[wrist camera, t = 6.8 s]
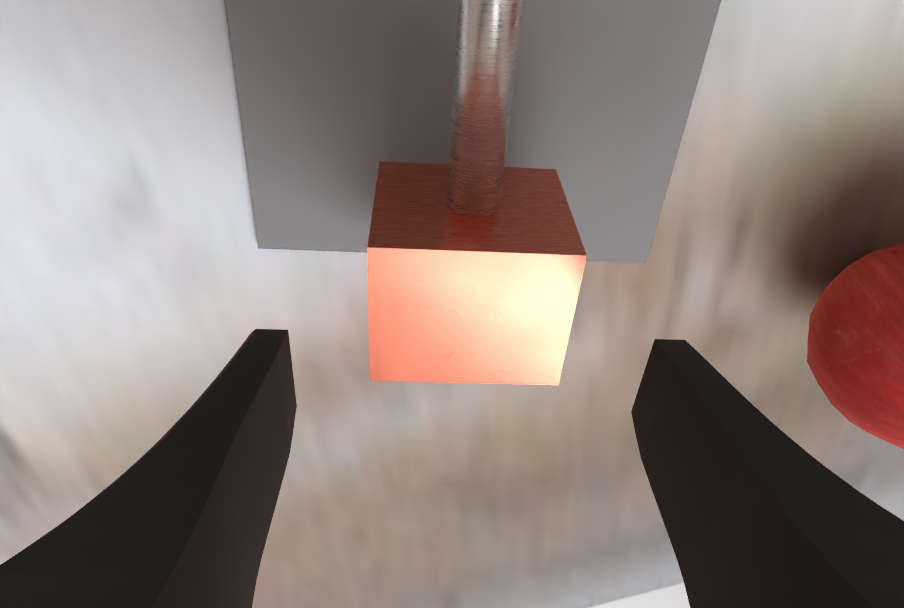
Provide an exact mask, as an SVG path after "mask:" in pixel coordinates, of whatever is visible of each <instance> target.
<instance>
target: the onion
mask: <svg viewBox="0 0 904 608" xmlns="http://www.w3.org/2000/svg"><path fill="white" fill-rule="evenodd" d="M807 362H808V364H809V366H810V368H811V370H812V372H813V374H814V376H815V378H816V380H817V382H818V384H819V386H820V387H821V389H822V390H823V392H824V393H825V395H826V396H827V398H828V399H829V401H830V402H831V404H832V405H833V406H834V407H835V408H836V409H837V410H838V411H839V412H840V413H841V414H843V415H844V416H845V417H846V418H847V419H848V420H849V421H850V422H851V423H853V424H855V425H856V426H858V427H860V428H861V429H863V430H865V431H866V432H868V433H870V434H872V435H874V436H876V437H878V438H880V439H882V440H885V441H887V442H889V443H891V444H893V445H896V446H898V447H900V448H903V449H904V242H902V243H899V244H896V245H892V246H889V247H886V248H882V249H879V250H876V251H873V252H871V253H869V254H867V255H865V256H864V257H862V258H860V259H859V260H857V261H855V262H854V263H852V264H850V265H848V266H847V267H846V268H845V269H844V270H843V271H842V272H841V273H840V274H839V275H838V276H837V277H836V278H834V279H833V280H832V281H831V282H830V283H829V285H828V286H827V287H826V288H825V289H824V291H823V293H822V294H821V296H820V298H819V300H818V302H817V304H816V305H815V307H814V309H813V311H812V313H811V315H810V322H809V333H808V354H807Z"/></svg>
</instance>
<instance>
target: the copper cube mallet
mask: <svg viewBox="0 0 904 608" xmlns="http://www.w3.org/2000/svg"><path fill="white" fill-rule="evenodd" d="M523 4H524V0H459V6H458V22H457V38H456V54H455V69H454V85H453V101H452V116H451V132H450V148H449V163H448V164H431V163H409V162H387V161H379V168H378V175H377V182H376V189H375V196H374V203H373V210H372V218H371V225H370V232H369V239H368V246H367V258H368V315H369V372H370V380H373V381H413V382H452V383H491V384H531V385H559V380H560V375H561V371H562V366H563V362H564V357H565V353H566V348H567V344H568V339H569V334H570V330H571V325H572V321H573V316H574V312H575V307H576V303H577V298H578V294H579V289H580V284H581V280H582V275H583V271H584V266H585V262H586V257H587V255H586V252H585V249H584V246H583V244H582V241H581V238H580V235H579V232H578V230H577V227H576V224H575V221H574V218H573V216H572V213H571V210H570V207H569V204H568V202H567V199H566V196H565V193H564V190H563V188H562V185H561V182H560V179H559V176H558V174H557V171H556V169H540V168H518V167H504V164H505V156H506V147H507V139H508V130H509V122H510V113H511V105H512V97H513V88H514V80H515V71H516V63H517V55H518V46H519V38H520V29H521V21H522V13H523Z"/></svg>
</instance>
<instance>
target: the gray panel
mask: <svg viewBox="0 0 904 608" xmlns="http://www.w3.org/2000/svg"><path fill="white" fill-rule="evenodd" d="M720 2H721V0H524V4H523V13H522V21H521V29H520V38H519V46H518V55H517V63H516V71H515V80H514V88H513V97H512V105H511V113H510V122H509V130H508V139H507V147H506V156H505V164H504V167H518V168H540V169H556V171H557V174H558V176H559V179H560V182H561V185H562V188H563V190H564V193H565V196H566V199H567V202H568V204H569V207H570V210H571V213H572V216H573V218H574V221H575V224H576V227H577V230H578V232H579V235H580V238H581V241H582V244H583V246H584V249H585V252H586V255H587V257H586V261H613V262H640V263H646V261H647V257H648V254H649V250H650V247H651V243H652V240H653V236H654V233H655V229H656V226H657V222H658V219H659V215H660V212H661V209H662V205H663V202H664V198H665V195H666V191H667V188H668V184H669V181H670V177H671V174H672V170H673V167H674V163H675V160H676V156H677V153H678V149H679V146H680V142H681V139H682V135H683V132H684V128H685V125H686V121H687V118H688V114H689V111H690V107H691V104H692V100H693V97H694V93H695V90H696V86H697V83H698V79H699V76H700V72H701V69H702V65H703V62H704V58H705V55H706V51H707V48H708V44H709V41H710V37H711V34H712V30H713V27H714V23H715V20H716V16H717V13H718V9H719V6H720ZM225 5H226V13H227V20H228V28H229V35H230V42H231V50H232V57H233V65H234V72H235V80H236V87H237V94H238V102H239V109H240V117H241V124H242V132H243V139H244V146H245V154H246V161H247V169H248V176H249V184H250V191H251V198H252V206H253V213H254V221H255V228H256V235H257V243H258V248H263V249H290V250H317V251H344V252H367V246H368V239H369V232H370V225H371V218H372V210H373V203H374V196H375V189H376V182H377V175H378V168H379V161H387V162H409V163H431V164H448V163H449V148H450V132H451V116H452V101H453V85H454V69H455V54H456V38H457V22H458V6H459V0H225Z"/></svg>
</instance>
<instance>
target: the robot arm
mask: <svg viewBox="0 0 904 608" xmlns="http://www.w3.org/2000/svg"><path fill="white" fill-rule="evenodd" d="M296 406H297V405H296V397H295V388H294V379H293V370H292V361H291V352H290V344H289V335H288V330H270V329H255V330H254V331H253V332H252V333H251V334H250V335H249V336H248V338H247V339H246V340H245V342H244V343H243V344H242V346H241V347H240V348H239V350H238V351H237V352H236V354H235V355H234V356H233V357H232V359H231V360H230V361H229V363H228V364H227V365H226V366H225V368H224V369H223V370H222V371H221V373H220V374H219V375H218V376H217V377H216V379H215V380H214V381H213V382H212V383H211V385H210V386H209V387H208V388H207V389H206V390H205V391H204V393H203V394H202V395H201V396H200V397H199V398H198V400H197V401H196V402H195V403H194V404H193V405H192V406H191V408H190V409H189V410H188V411H187V412H186V413H185V414H184V415H183V416H182V417H181V418H180V419H179V420H178V421H177V422H176V423H175V425H174V426H173V427H172V428H171V429H170V430H169V431H168V432H167V433H166V434H165V435H164V436H163V437H162V438H161V439H160V440H159V441H158V442H157V443H156V444H155V445H154V446H153V447H152V448H151V449H150V450H149V451H148V452H147V453H146V454H145V455H144V456H142V457H141V458H140V459H139V460H138V461H137V462H136V463H135V464H134V465H133V466H131V467H130V468H129V469H128V470H127V471H126V472H125V473H124V474H122V475H121V476H120V477H119V478H118V479H117V480H116V481H114V482H113V483H112V484H111V485H110V486H108V487H107V488H106V489H105V490H103V491H102V492H101V493H100V494H98V495H97V496H96V497H95V498H94V499H92V500H91V501H90V502H89V503H87V504H86V505H85V506H84V507H82V508H81V509H80V510H79V511H77V512H76V513H75V514H73V515H72V516H71V517H69V518H68V519H67V520H65V521H64V522H63V523H61V524H60V525H59V526H57V527H56V528H54V529H53V530H51V531H50V532H48V533H47V534H46V535H44V536H43V537H41V538H40V539H38V540H37V541H35V542H34V543H33V544H31V545H30V546H28V547H27V548H25V549H24V550H22V551H21V552H19V553H18V554H16V555H15V556H13V557H12V558H10V559H9V560H7V561H6V562H4V563H3V564H1V565H0V608H252V603H253V597H254V591H255V585H256V579H257V575H258V571H259V566H260V562H261V557H262V554H263V550H264V546H265V543H266V539H267V535H268V532H269V528H270V524H271V521H272V517H273V513H274V510H275V506H276V502H277V499H278V495H279V491H280V488H281V484H282V480H283V476H284V473H285V469H286V465H287V461H288V457H289V454H290V448H291V441H292V435H293V428H294V420H295V413H296ZM631 412H632V417H633V422H634V428H635V433H636V438H637V442H638V447H639V451H640V455H641V459H642V462H643V465H644V468H645V471H646V474H647V476H648V479H649V482H650V485H651V488H652V491H653V494H654V496H655V499H656V502H657V505H658V507H659V510H660V513H661V516H662V519H663V521H664V524H665V527H666V530H667V532H668V535H669V538H670V541H671V543H672V546H673V549H674V552H675V555H676V557H677V561H678V564H679V567H680V570H681V573H682V577H683V580H684V584H685V588H686V592H687V596H688V599H689V604H690V608H904V521H903V520H901V519H900V518H898V517H896V516H895V515H893V514H892V513H890V512H889V511H887V510H886V509H884V508H882V507H881V506H879V505H878V504H876V503H875V502H873V501H872V500H871V499H869V498H868V497H866V496H865V495H863V494H862V493H860V492H859V491H857V490H856V489H855V488H853V487H852V486H851V485H849V484H848V483H847V482H845V481H844V480H843V479H841V478H840V477H838V476H837V475H836V474H834V473H833V472H832V471H830V470H829V469H828V468H826V467H825V466H824V465H822V464H821V463H820V462H818V461H817V460H816V459H815V458H813V457H812V456H811V455H810V454H808V453H807V452H806V451H805V450H804V449H802V448H801V447H800V446H799V445H798V444H796V443H795V442H794V441H793V440H792V439H791V438H789V437H788V436H787V435H786V434H785V433H783V432H782V431H781V430H780V429H779V428H778V427H777V426H775V425H774V424H773V423H772V422H771V421H770V420H769V419H767V418H766V417H765V416H764V415H763V414H762V413H761V412H760V411H759V410H758V409H757V408H755V407H754V406H753V405H752V404H751V403H750V402H749V401H748V400H747V399H746V398H745V397H744V396H743V395H742V394H741V393H740V392H738V391H737V390H736V389H735V388H734V387H733V386H732V385H731V384H730V383H729V382H728V381H727V380H726V379H725V378H724V377H723V376H722V375H721V374H720V373H719V372H718V371H717V370H716V369H715V368H714V367H713V366H712V365H711V364H710V363H709V362H708V361H707V360H706V359H704V358H703V357H702V356H701V355H700V354H699V353H698V352H697V351H696V350H695V349H694V348H693V347H692V346H691V345H690V344H689V343H687V342H686V341H685V340H664V339H655V340H654V343H653V346H652V349H651V353H650V356H649V359H648V362H647V365H646V368H645V371H644V374H643V377H642V380H641V383H640V387H639V390H638V393H637V396H636V399H635V402H634V405H633V408H632V411H631Z"/></svg>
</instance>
